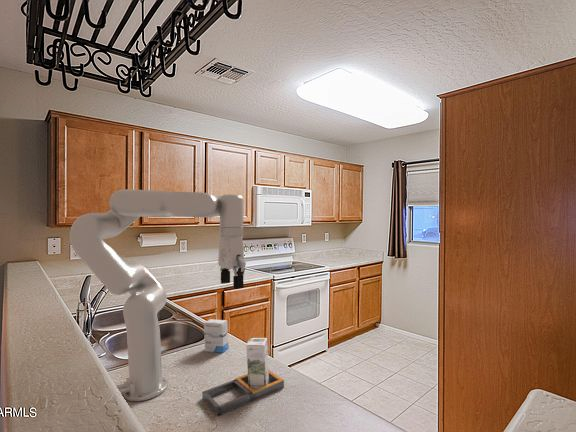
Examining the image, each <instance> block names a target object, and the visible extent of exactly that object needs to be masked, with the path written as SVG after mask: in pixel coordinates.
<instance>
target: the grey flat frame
mask: <svg viewBox="0 0 576 432" xmlns="http://www.w3.org/2000/svg"><path fill="white" fill-rule="evenodd" d="M268 372H269V384H267V385H265V386H263V387H260V388H258V389H256V390H253V389H252V388H251V387H250V386H248V373H246V374H244V375H240V376H237V377H235V379H233V380H230V381H228V382H224V383H222V384H219V385H217V386H214V387H211V388H208V389H206V390H204V391H202V392H201V395H202V400H203V401H204V402H205V403H206V404H207V406H208V407H209V408H210V409H211V410H212V412H214V414H215V415H216V416H217V417H219V416H222V415H224V414H226V413H228V411H229V412H231V411H233V410H236V409H238V408H240V407H242V406H244V404H245V405H247V404H249V403H251V402H254V401H256V400H258V399H260V398H263V397H265V396H267V395H269V394H272V393H273V392H274V393H275V392H276V391H278V390H279V391H280V390H281V389H284V388H285V381H284V380H285V379H283V378H282V377H280V376H278V374H276V373H274V372H273V371H271V370H270V369H268ZM233 389H235V390H236V391H237V392H238V393H240V395H242V396H240V397H237V398H234V399H232V400H229V401H227V402H225V403H222V404H220V405H219V403H217V402H216V400H214V398H213V397H215V396H218V395H220V394H223V393H225V392H228V391H230V390H233ZM262 396H263V397H262ZM257 398H258V399H257ZM255 399H256V400H255ZM253 400H254V401H253ZM250 401H251V402H250ZM248 402H249V403H248ZM246 403H247V404H246ZM237 407H238V408H237ZM232 409H233V410H232ZM230 410H231V411H230Z"/></svg>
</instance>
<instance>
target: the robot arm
mask: <svg viewBox="0 0 576 432" xmlns="http://www.w3.org/2000/svg"><path fill="white" fill-rule="evenodd" d="M109 207H110V209H109V210H108V211H106V212H90V213H85V214H82V215H80V216H78V217H77V218H76V219H75V220H74V221H73V223H72V225H71V228H70V229H69V230H70V231H69V242H70V245H71V246H70V247H71V248H72V249H73V252H75V254H76V255H77V257H78V258H80V260H81V261H82V262H84V264H85V265H86V266H87V267H88V268H89V269H90V270H91V272H92V273H93V274H94V275H95V276H96V278H97V279H98V280H99V281H100V283H102V285H103V286H104V287H105V288H106V290H108V292H110V293H111V294H113V295H116V296H121V295H124V294H127V293H129V294H130V295H129V297H128V298H127V299H126V301H125V302H124V305H123V310H122V314H123V320H124V324H125V329H126V343H127V345H126V346H127V359H128V360H127V361H128V377H126V381H124V382H123V383H121V384H117V385H115V386H117V388H118V389H119V391H120V392H121V394H123V397H124V398H125V399H126V400H127V401H129V402H141V401H146V400H151V399H153V398H156V397H158V396H159V395H161V394H163V393H164V392H165V391H166V390H167V389H168V385H169V384H168V380H167V378H165V377H163V367H162V365H163V363H162V346H161V345H162V344H161V343H162V342H161V331H160V329H161V328H160V323H159V320H158V314H159V312H160V311H161V310H162V309H163V308H164V307H165V306H166V303H167V300H168V297H167V292H166V290H165V289H164V288H163V285H161V284H160V282H159V281H158V280H157V279H156V278H155V276H153V274H152V273H151V272H150V271H149V270H148V268H147V267H146V266H144V265H143V264H141V263H140V262H137V261H133V260H132V261H125V260H123V259H122V257H121V256H120V255H119V254H118V253H117V251H116V250H115V249H113V247H112V246H110V245H109V244H107V243H106V242H105V241H104V240H105V239H112V238H115V237H117V236H119V235H120V234H121V233H122V232H124V231H125V230H127V229H128V227H130V226H131V225H133V223H134V222H136V221H137V220H138V219H140V217H143V218H145V217H146V218H147V217H149V218H169V217H183V218H185V217H188V218H189V217H190V218H215V217H216V218H217V217H219V245H218V266H219V267H220V269H219V271H220V284H221V285H222V284H223V285H224V284H230V283H231V270H232V272H233V274H234V275H233V280H232V281H233V283H232V285H233V287H232V288H233V289H234V290H236V289H238V290H239V289H244V276H245V270H246V264H247V263H246V261H245V258H244V257H245V252H244V250H245V249H244V242H243V238H244V197H243V196H242V195H239V194H223V195H221V196H220V195H215V194H211V193H208V192H202V191H201V192H200V191H169V190H154V189H153V190H151V189H150V190H149V189H147V190H146V189H128V188H127V189H126V188H125V189H119V190H116V191H115V192H113V193H112V194H111V196H110V198H109ZM121 394H120V395H121Z"/></svg>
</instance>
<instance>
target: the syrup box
mask: <svg viewBox="0 0 576 432" xmlns="http://www.w3.org/2000/svg"><path fill="white" fill-rule="evenodd" d="M246 359H247V360H246V363H247V374H248V383H247V385H248V386H250V387H251V388H252V389H253V390H256V389H258V388H260V387H263V386H265V385H267V384H270V380H269V372H268V370H269V353H268V338H267V337H251V338H249V339H248V341H247V343H246Z"/></svg>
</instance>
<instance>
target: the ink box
mask: <svg viewBox="0 0 576 432" xmlns="http://www.w3.org/2000/svg"><path fill="white" fill-rule="evenodd" d="M203 337H204V351H205V352H210V353H211V352H212V353H221V354H222V353H223V354H224V353H225V352H226V351H228V349H229V348H230V347H229V331H228V320H227V319H225V320H224V319H213V318H209V319H208V320H206V321H204V322H203Z"/></svg>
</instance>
